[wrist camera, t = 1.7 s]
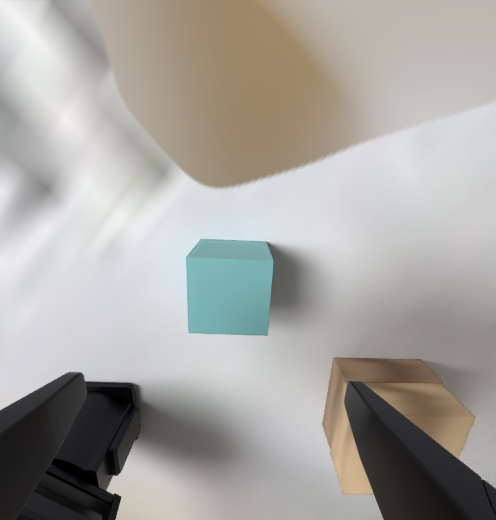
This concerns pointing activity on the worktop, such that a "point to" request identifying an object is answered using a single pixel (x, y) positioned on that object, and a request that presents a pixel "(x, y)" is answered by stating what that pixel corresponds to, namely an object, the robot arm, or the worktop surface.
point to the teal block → (229, 287)
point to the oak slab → (416, 410)
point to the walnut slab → (370, 380)
